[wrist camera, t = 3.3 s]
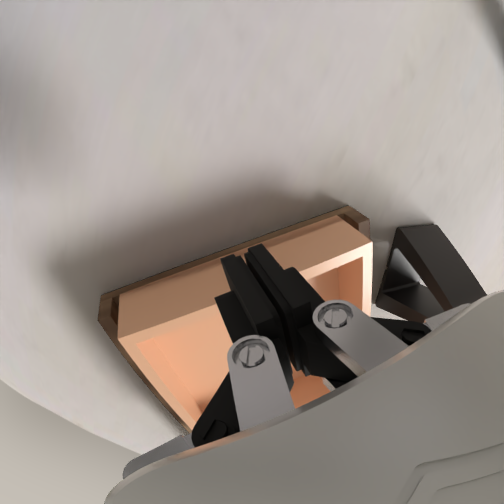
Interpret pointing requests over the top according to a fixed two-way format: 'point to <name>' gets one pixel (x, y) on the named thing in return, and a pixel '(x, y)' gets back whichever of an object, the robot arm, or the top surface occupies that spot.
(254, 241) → the tray
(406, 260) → the phone stand
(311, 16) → the top surface
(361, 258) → the orange shallow box
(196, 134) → the top surface
